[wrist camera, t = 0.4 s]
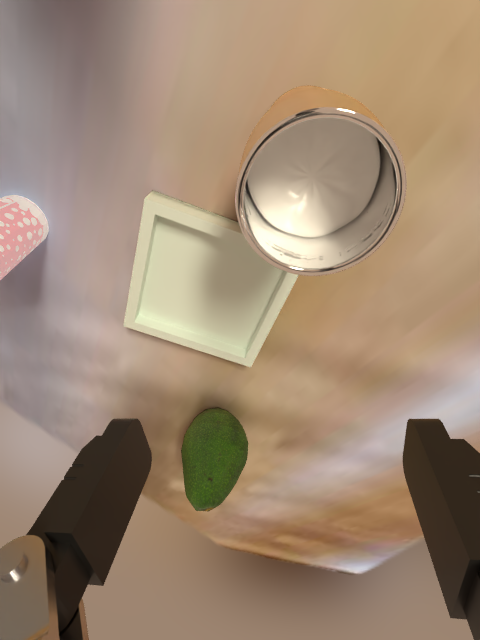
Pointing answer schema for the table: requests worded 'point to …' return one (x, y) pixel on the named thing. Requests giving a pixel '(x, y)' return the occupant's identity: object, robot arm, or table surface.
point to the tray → (202, 282)
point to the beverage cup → (19, 230)
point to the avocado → (212, 457)
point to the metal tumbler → (319, 183)
